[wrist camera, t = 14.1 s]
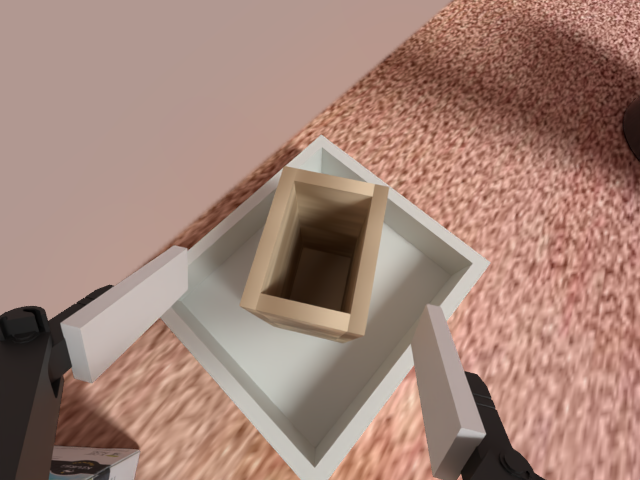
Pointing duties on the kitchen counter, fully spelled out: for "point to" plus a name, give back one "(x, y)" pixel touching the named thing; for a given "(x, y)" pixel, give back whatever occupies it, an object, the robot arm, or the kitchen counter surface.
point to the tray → (308, 351)
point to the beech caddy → (318, 255)
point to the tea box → (93, 463)
